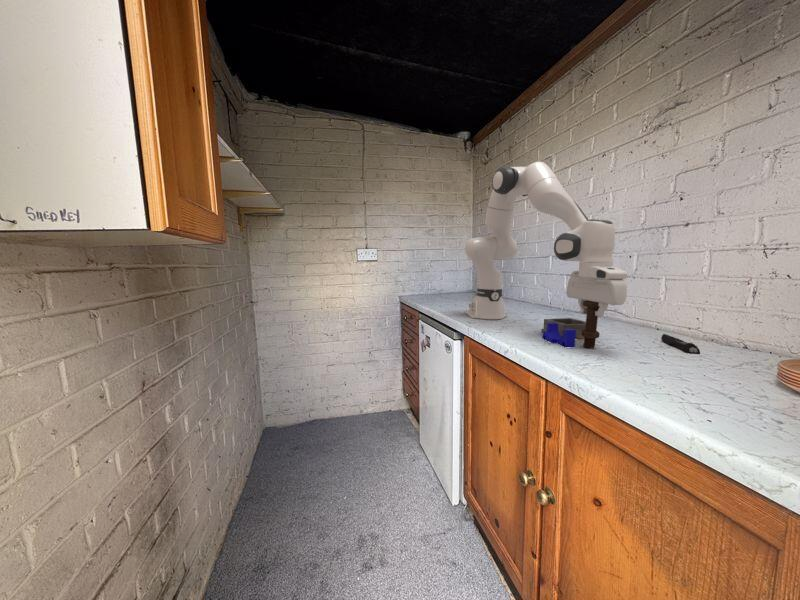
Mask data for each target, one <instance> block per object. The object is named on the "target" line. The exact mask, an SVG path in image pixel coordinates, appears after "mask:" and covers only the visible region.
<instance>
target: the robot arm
mask: <svg viewBox="0 0 800 600" xmlns="http://www.w3.org/2000/svg"><path fill="white" fill-rule="evenodd" d="M491 186H492V191H491V194H490V197H489V201H488V205H487V209H486V213H485V217H484V222H485V226H486V227H487V228H488V229H489V230H491V231H492V236H477V237H472V238H469V239H468V241H467V242H466V243H465V247H464V252H465V254H466V257H468V259H470V260H471V262H472V263H473V264H474V266H475V267H476V271H477V277H478V278H477V282H478V284H477V285H478V286H477V289H476V294H475V295H476V296H475V297H474V298H473V299H472V301H470V303H468V309H469V310H466V311H465V314H466V315H467V316H468V317H470V318H471V319H482V320H502V319H504V318H507V316H508V315H507V313H506V314H505V300H504V299H503V289H502V287H503V286H502V284H503V273H502V271H500V269H499V268H497V267H495V265H494V264H493V261H504V260H510V259H512V258H515V256H516V255H517V253H518V244H517V241H516V240H515V239H514V238H513V236H512V234H511V226H510V225H511V222H512V221H511V220H512V215H513V210H514V207H515V201H516V199H517V197H519V196H522V197H527V198H528V200H529V201H530V204H531V205H532V206H533V207H534V208H535V210H536V211H538V212H540V213H543V214H547V215H550V216H554V217H556V218H558V219H560V220H562V221H563V222H564V223H565V224H567V227H568V228H569V230H570V231H567V232H564V233H563V232H562V233H561V234H559V236H558V237H556V239H555V240H554V244H553V252H554V255H555V257H557V258H558V260H560V261H565V262H579V265H578V270H574V271H572V273H571V274H570V275H569V278H568V282H567V287H566V297H567V298H570V299H576V300H577V303H578V306H579V308H580V311H579V313H580V314H583V315H586V314H587V311H586V310H587V307H585V306H583V302H584V301H592V302H598V303H599V304H598V306H600V307H599V309H598V311H595V316H596V317H598V318H604V316H605V312H606V310H607V309H608V307H609V306H610V305H611V306H622V305H623V304H625V302H626V300H627V293H628V289H627V287H628V285H627V282H626V279H627V278H628V271H625V270H623V269H620V268H618V267H616V266H613V263H614V259H613V252H614V250H615V245H616V231H615V230H616V229H615V225H614V223H613V222H612V221H611V220H608V219H607V220H606V219H594V218H593V219H592V218H591V219H589V218H588V216H587V215H586V214H585V213H584V212H583V210H582V209H581V207H580V206H579V205H578V204H577V203H576V201H575V199H573V198H572V197H571V196H570V194H568V192H567V191H566V190H565V188H564V187H563V186H562V184H561V182H560V181H559V179H558V177H557V176H556V174H555V173H554V171H553V170H552V169H551V167H549V165H548V164H547V163H545V162H543V161H534V162H533V163H531V164H529V165H527V166H523V165H521V166H503V167H499V168H498V169H497V170H495V172H494V174H493V176H492V181H491Z"/></svg>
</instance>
